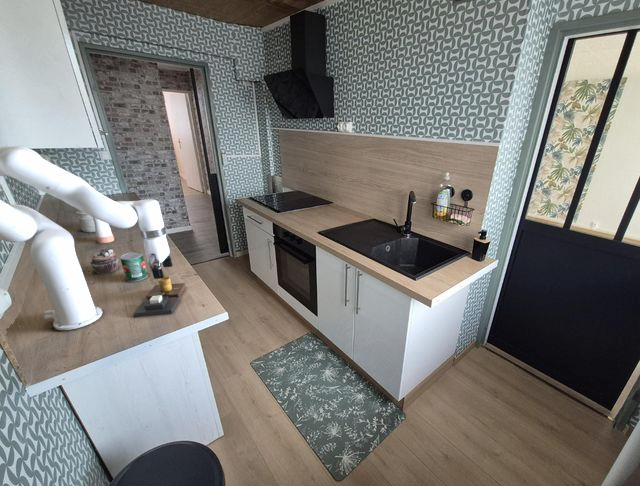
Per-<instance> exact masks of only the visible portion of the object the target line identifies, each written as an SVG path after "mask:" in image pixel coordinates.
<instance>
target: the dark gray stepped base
mask: <svg viewBox="0 0 640 486" xmlns="http://www.w3.org/2000/svg"><path fill="white" fill-rule="evenodd" d="M150 299H151V297H150ZM150 299H149V300H150ZM149 300H147V299H144V300H143V301H142V302H141V303H140V304H139V306H138V307H137V309H136V310H135V311H134V312H133V316H134V318H142V317H151V316H162V315H171V314H173V313H174V311H175V309H176V308H177V306H178V305H179V303H180V301H181V300H180V299H179V297H174V298H168V296H162V301H161V302H160V303H154V304H150V301H149Z"/></svg>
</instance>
